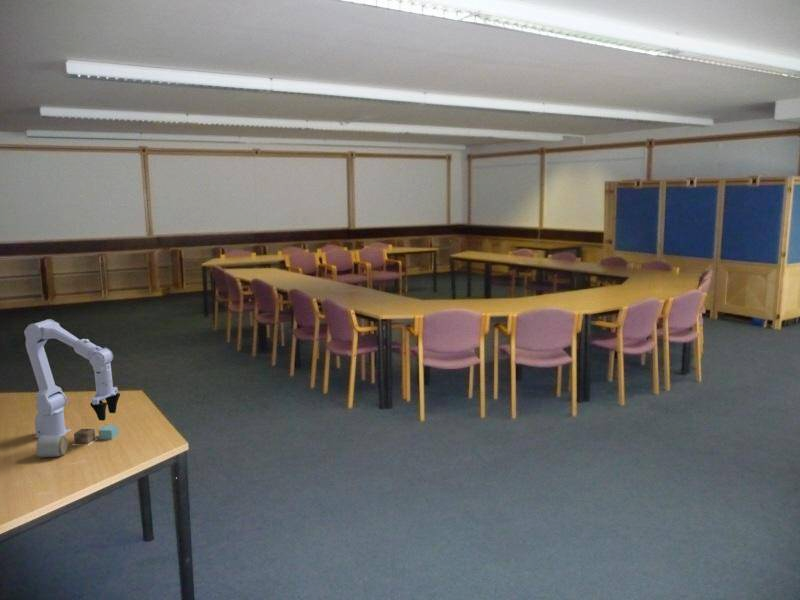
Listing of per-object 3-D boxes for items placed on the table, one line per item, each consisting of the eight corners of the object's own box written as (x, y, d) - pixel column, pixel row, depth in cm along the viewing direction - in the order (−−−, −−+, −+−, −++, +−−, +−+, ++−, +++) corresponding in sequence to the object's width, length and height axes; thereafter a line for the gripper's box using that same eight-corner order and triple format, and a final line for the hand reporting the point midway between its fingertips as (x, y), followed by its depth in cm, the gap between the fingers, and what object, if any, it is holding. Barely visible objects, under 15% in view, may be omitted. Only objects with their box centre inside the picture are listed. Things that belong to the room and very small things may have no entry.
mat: (61, 446, 231) (61, 446, 231) (75, 437, 240) (75, 436, 240) (87, 447, 231) (87, 446, 231) (100, 437, 240) (100, 437, 240)
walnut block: (74, 444, 233) (73, 433, 232) (82, 438, 238) (81, 428, 237) (88, 444, 233) (87, 434, 232) (95, 439, 238) (94, 428, 237)
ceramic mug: (62, 459, 221) (60, 438, 220) (36, 461, 220) (34, 440, 218) (73, 447, 231) (71, 427, 230) (48, 449, 230) (46, 429, 229)
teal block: (99, 440, 238) (98, 430, 237) (106, 435, 243) (105, 425, 242) (112, 440, 237) (111, 430, 237) (119, 435, 242) (118, 425, 241)
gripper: (104, 387, 229) (107, 423, 231) (123, 375, 243) (127, 409, 245) (85, 387, 229) (88, 423, 231) (106, 375, 243) (109, 409, 246)
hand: (107, 416), depth 238 cm, fingers open, 7 cm apart
